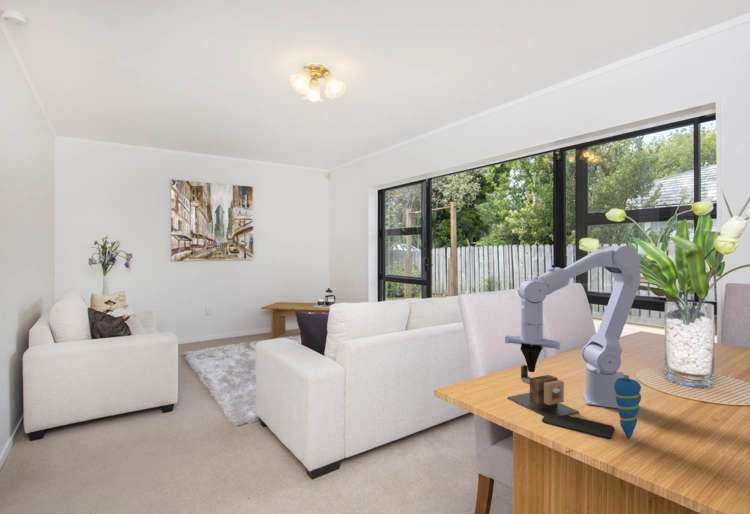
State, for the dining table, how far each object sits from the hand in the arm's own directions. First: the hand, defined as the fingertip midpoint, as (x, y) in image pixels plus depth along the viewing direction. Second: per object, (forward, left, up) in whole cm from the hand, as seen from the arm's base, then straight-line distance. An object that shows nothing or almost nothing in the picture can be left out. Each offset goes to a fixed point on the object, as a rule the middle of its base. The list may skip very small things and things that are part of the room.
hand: (531, 371), depth 110 cm
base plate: (-3, +2, -8) cm, 9 cm away
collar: (-5, +5, -6) cm, 10 cm away
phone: (-10, +12, -9) cm, 18 cm away
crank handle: (-2, +2, -4) cm, 5 cm away
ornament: (-20, +16, -9) cm, 27 cm away
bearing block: (-3, +3, -8) cm, 10 cm away
